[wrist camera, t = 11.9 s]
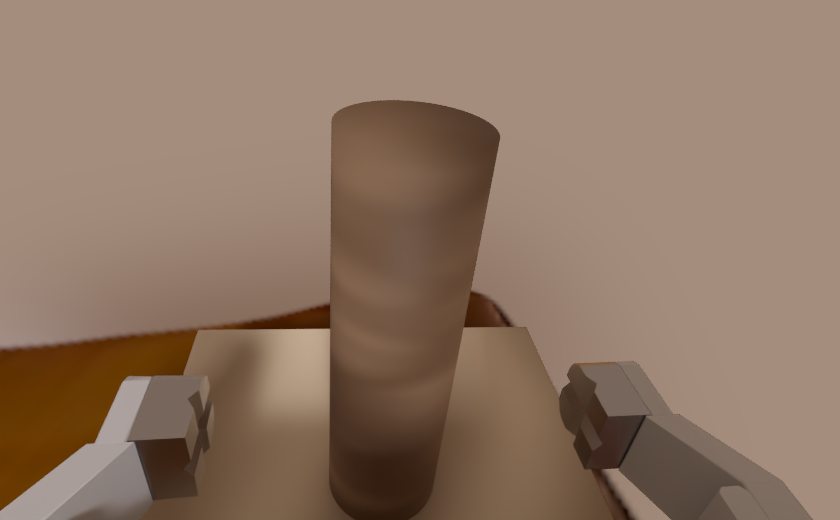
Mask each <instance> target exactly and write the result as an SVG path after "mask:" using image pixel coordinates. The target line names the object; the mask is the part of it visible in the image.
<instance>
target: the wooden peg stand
mask: <svg viewBox="0 0 840 520" xmlns="http://www.w3.org/2000/svg"><path fill="white" fill-rule="evenodd" d="M499 141H500V134H499V132H498V131H497V129H496V128H495V127H494V126H493V125H491V124H490V123H489V122H487V121H485V120H484V119H482V118H480V117H478V116H475V115H473V114H471V113H468V112H465V111H462V110H458V109H455V108H451V107H447V106H442V105H437V104H431V103H424V102H414V101H399V100H386V101H371V102H364V103H359V104H354V105H351V106H348V107H345V108H343V109H341V110H339V111H338V112H337V113H335V114H334V116H333V117H332V137H331V145H332V146H331V283H330V285H331V286H330V329H260V330H198V333H197V336H196V338H195V341H194V344H193V347H192V350H191V353H190V356H189V359H188V362H187V365H186V368H185V371H184V374H183V375H205V376H207V377H208V381H209V386H210V389H209V393H208V397H207V399H209V400H210V401H211V402H213V408H214V429H213V437H212V442H211V446H210V448H209V449H208V450H207V451H206V452H205V453H204V459H205V465H206V468H205V472H204V476H203V481H202V485H201V489H200V493H199V496H195V497H184V498H174V499H163V500H153V504H152V505H151V507H150V508H149V509H148V510H147V511H146V512H145V513H144V515H143V516H142V517H141V518H140V519H139V520H614V519H613V516H612V514H611V512H610V510H609V508H608V506H607V503H606V501H605V499H604V497H603V495H602V492H601V490H600V488H599V486H598V484H597V481H596V479H595V477H594V475H593V473H592V470H591V469H589V470H584V468H583V466H582V463H581V461H580V459H579V457H578V455H577V453H576V450H575V448H574V446H573V443H574V439H575V435H573V434H572V433H571V432H569V431H568V430H567V429H566V428H565V426H564V424H563V421H562V419H561V415H560V411H559V398H558V396H557V393H556V391H555V389H554V387H553V385H552V382H551V380H550V378H549V376H548V374H547V372H546V369H545V367H544V365H543V363H542V361H541V358H540V356H539V354H538V352H537V350H536V347H535V345H534V343H533V341H532V339H531V336H530V334H529V332H528V330H527V328H526V327H473V328H464V323H465V318H466V312H467V307H468V302H469V297H470V292H471V286H472V281H473V275H474V271H475V266H476V260H477V255H478V250H479V245H480V240H481V234H482V229H483V224H484V219H485V213H486V208H487V203H488V198H489V193H490V188H491V182H492V177H493V172H494V167H495V162H496V156H497V151H498V146H499Z"/></svg>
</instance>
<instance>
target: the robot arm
mask: <svg viewBox="0 0 840 520" xmlns="http://www.w3.org/2000/svg"><path fill="white" fill-rule="evenodd" d="M567 376H568V378H569V380H570V383H569V384H568V385H566V386H565V387H564V388H563V389H562V391H561V395H560V398H559V411H560V415H561V419H562V421H563V424H564V426H565V428H566V429H567V430H568V431H569V432H571V433H572V434H573V435H575V439H574V443H573V446H574V448H575V450H576V453H577V455H578V457H579V459H580V461H581V463H582V466H583V468H584V470H589V469H614V468H620V469H619V471H620V472H621V473H622V474H623V475H625V477H626V478H628V479H629V480H630V481H631V482H632V483H633V484H634V485H635V486H636V487H637V488H638V489H639V490H640V491H641V492H643V493H644V494H645V495H646V496H647V497H648V498H649V499H650V500H651V501H652V502H653V503H654V504H655V505H656V506H658V508H660V509H661V510H662V511H663V512H664V513H665V514H666V515H667V516H668V517H669V518H670V519H671V520H813V519H812V518H811V517H810V515H809V514H808V513H807V511H806V510H805V509H804V508H803V506H802V505H801V504H800V503H799V501H798V500H797V499H796V498H795V496H794V495H793V494H792V493H791V491H790V490H789V489H788V487H787V486H786V485H785V484H784V482H783V481H781V480H780V479H779V478H777V477H776V476H774V475H772V474H771V473H769V472H768V471H766V470H765V469H763V468H762V467H760V466H759V465H757V464H755V463H754V462H752V461H751V460H749V459H748V458H746V457H745V456H743V455H742V454H740V453H738V452H737V451H735V450H734V449H732V448H731V447H729V446H728V445H726V444H725V443H723V442H721V441H720V440H718V439H717V438H715V437H714V436H712V435H711V434H709V433H708V432H706V431H704V430H703V429H701V428H700V427H698V426H697V425H695V424H693V423H692V422H691V421H689V420H687V419H686V418H684V417H683V416H681V415H680V414H673V413H672V412H671V410H670V409H669V407H668V406H667V404H666V403H665V401H664V400H663V399H662V397H661V396H660V394H659V393H658V391H657V390H656V388H655V387H654V386H653V384H652V383H651V381H650V380H649V378H648V377H647V375H646V374H645V373H644V371H643V370H642V368H641V367H640V365H639V364H637V363H636V362H634V361H626V362H601V363H578V364H573V365H572V366H571V367H570V369H569V372H568V374H567ZM209 389H210V386H209V381H208V377H207V376H205V375H181V376H128V377H127V378H126V379H125V380H124V381H123V382H122V384H121V386H120V389H119V391H118V393H117V395H116V397H115V399H114V402H113V404H112V406H111V408H110V410H109V413H108V415H107V417H106V419H105V421H104V424H103V426H102V428H101V430H100V432H99V434H98V437H97V439H96V441H95V443H94V444H86V445H84V446H83V447H82V448H80V449H79V450H78V451H77V452H75V453H74V454H73V455H72V456H70V457H69V458H68V459H66V460H65V461H64V462H63V463H61V464H60V465H59V466H57V467H56V468H55V469H54V470H52V471H51V472H50V473H49V474H47V475H46V476H45V477H43V478H42V479H41V480H40V481H38V482H37V483H36V484H34V485H33V486H32V487H31V488H29V489H28V490H27V491H26V492H24V493H23V494H22V495H20V496H19V497H18V498H17V499H15V500H14V501H13V502H11V503H10V504H9V505H8V506H6V507H5V508H4V509H2V510H1V511H0V520H139V519H140V518H141V517H142V516H143V515H144V513H145V512H146V511H147V510H148V509H149V508H150V507H151V505H152V504H153V500H163V499H174V498H184V497H195V496H199V493H200V489H201V485H202V481H203V476H204V472H205V468H206V465H205V459H204V453H205V452H206V451H207V450H208V449H209V448H210V446H211V442H212V437H213V429H214V408H213V402H211V401H210V400H209V399H207V397H208V393H209Z"/></svg>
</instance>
